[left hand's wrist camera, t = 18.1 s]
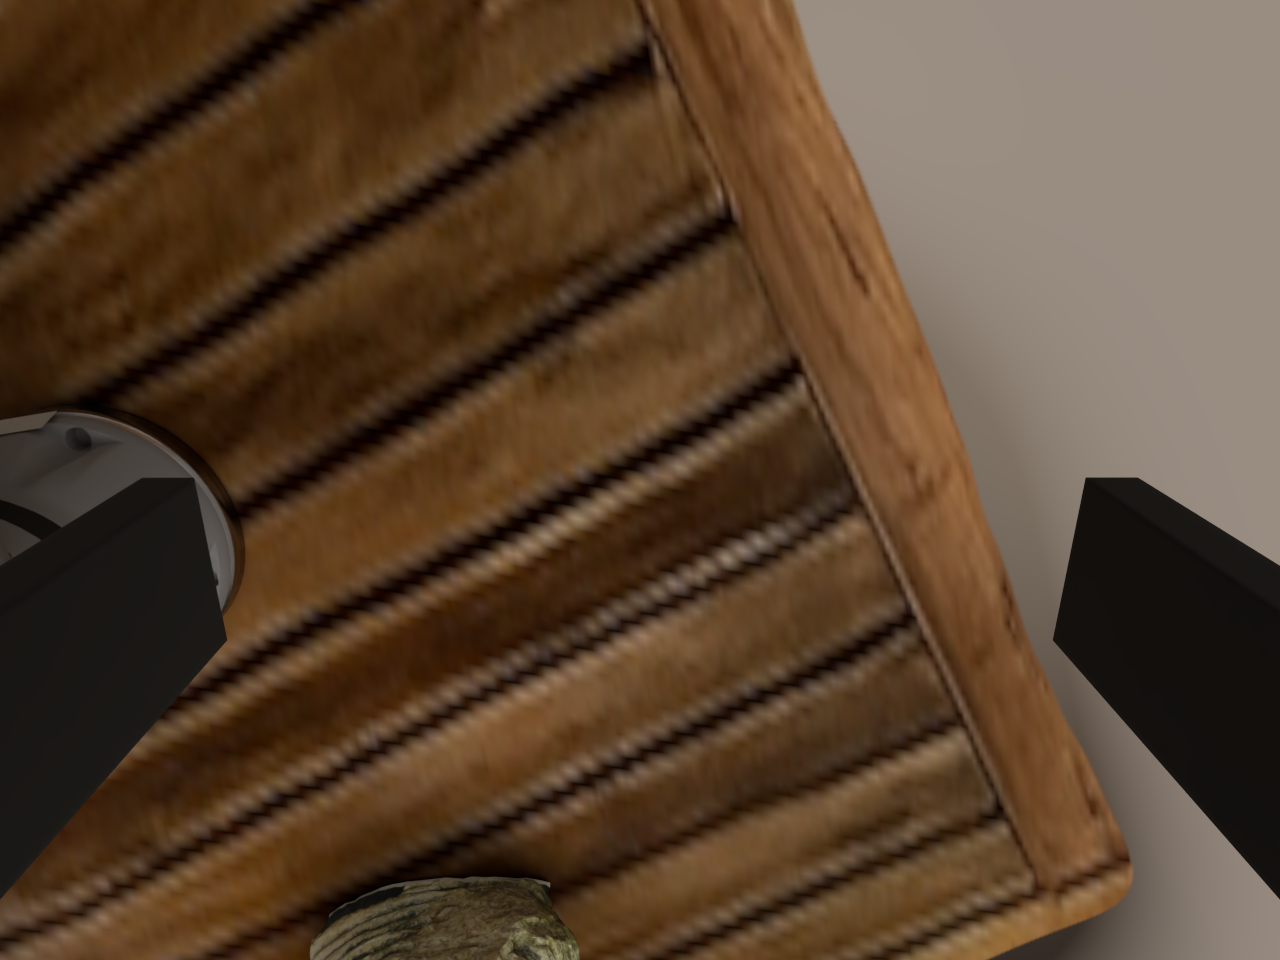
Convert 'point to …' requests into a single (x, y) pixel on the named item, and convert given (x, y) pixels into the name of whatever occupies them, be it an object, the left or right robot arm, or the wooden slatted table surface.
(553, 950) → the fossil
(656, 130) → the wooden slatted table surface
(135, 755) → the wooden slatted table surface
